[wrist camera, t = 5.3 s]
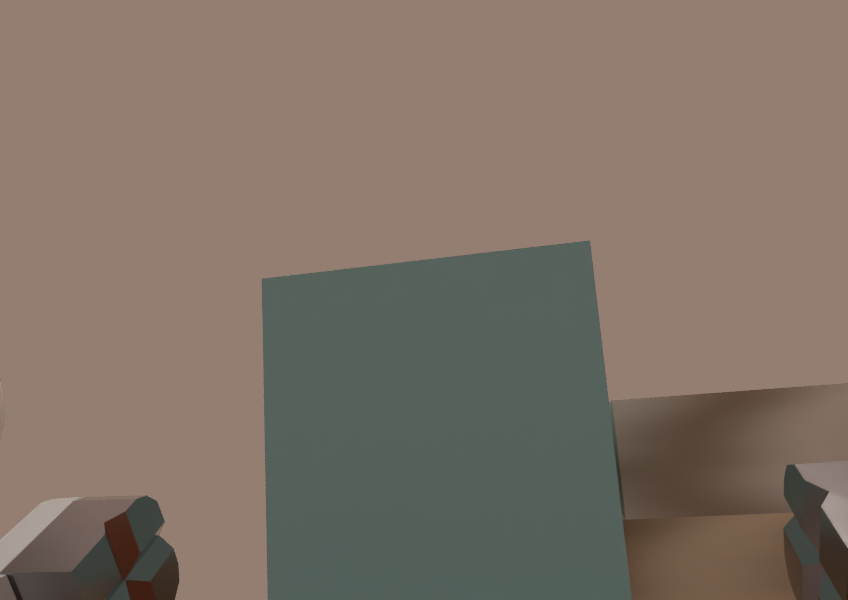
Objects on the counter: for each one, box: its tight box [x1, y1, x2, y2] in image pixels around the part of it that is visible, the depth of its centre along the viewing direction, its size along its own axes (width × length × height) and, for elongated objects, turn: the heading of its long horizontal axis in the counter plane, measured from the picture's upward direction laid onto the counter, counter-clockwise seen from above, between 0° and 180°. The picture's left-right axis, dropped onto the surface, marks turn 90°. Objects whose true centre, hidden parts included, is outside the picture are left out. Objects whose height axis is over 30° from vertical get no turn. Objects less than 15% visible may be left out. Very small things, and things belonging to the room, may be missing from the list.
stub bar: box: [262, 241, 632, 600], centre depth 17 cm, size 4×20×4 cm, turn 168°
